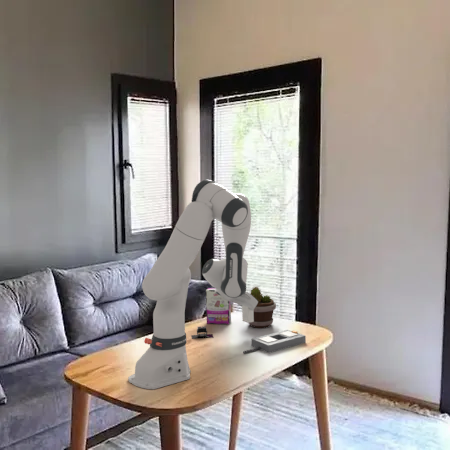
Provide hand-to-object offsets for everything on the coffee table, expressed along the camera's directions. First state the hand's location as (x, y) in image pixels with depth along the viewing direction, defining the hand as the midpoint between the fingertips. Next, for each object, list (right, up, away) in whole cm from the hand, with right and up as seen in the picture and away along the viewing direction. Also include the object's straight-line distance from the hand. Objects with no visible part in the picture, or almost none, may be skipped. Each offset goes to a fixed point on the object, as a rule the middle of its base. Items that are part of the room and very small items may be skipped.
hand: (248, 307), depth 227 cm
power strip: (+8, -14, -13) cm, 21 cm away
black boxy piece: (-20, -14, +2) cm, 24 cm away
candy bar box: (-13, -11, +23) cm, 29 cm away
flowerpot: (+6, -11, +18) cm, 22 cm away
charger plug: (0, -6, 0) cm, 6 cm away
